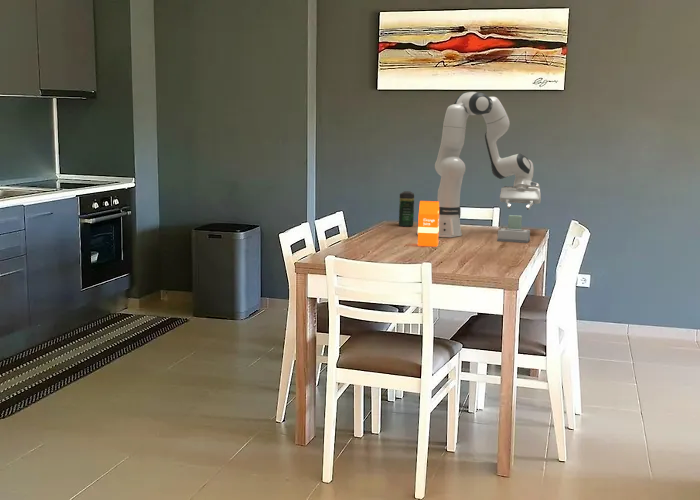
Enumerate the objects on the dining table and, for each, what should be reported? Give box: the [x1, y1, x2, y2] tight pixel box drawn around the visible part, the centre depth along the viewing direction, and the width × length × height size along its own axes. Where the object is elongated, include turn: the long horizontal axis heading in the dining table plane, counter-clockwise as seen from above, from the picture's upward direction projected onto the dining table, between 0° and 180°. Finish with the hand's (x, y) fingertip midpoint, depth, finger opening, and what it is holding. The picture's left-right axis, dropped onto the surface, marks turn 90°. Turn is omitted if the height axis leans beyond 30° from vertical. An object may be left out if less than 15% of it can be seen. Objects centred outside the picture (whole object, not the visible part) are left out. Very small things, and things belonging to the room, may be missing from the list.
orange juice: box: [417, 200, 440, 247], centre depth 351 cm, size 8×9×20 cm
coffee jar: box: [398, 190, 415, 228], centre depth 413 cm, size 10×8×19 cm
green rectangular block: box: [507, 214, 523, 229], centre depth 375 cm, size 4×6×11 cm, turn 69°
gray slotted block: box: [496, 227, 531, 244], centre depth 368 cm, size 14×10×5 cm
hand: (518, 208), depth 382 cm, fingers open, 8 cm apart
